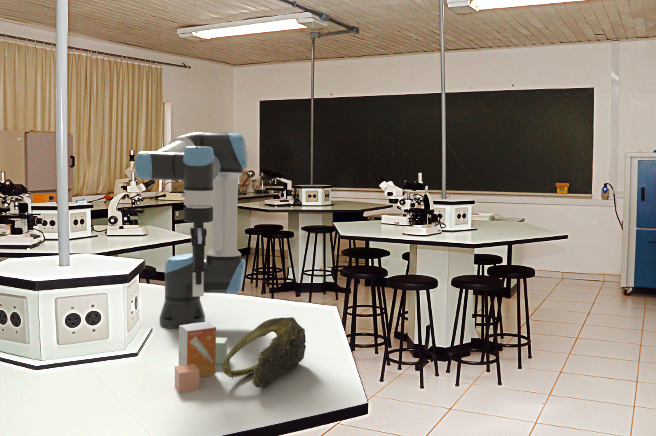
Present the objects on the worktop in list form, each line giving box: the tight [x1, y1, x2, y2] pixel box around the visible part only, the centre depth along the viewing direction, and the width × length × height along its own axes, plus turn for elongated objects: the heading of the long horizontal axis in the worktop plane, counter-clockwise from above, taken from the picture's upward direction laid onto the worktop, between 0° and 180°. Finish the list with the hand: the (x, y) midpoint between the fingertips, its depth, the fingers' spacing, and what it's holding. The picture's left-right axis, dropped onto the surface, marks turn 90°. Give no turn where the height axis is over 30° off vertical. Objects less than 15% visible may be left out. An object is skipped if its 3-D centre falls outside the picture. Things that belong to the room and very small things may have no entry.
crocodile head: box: [221, 316, 307, 389], centre depth 160 cm, size 27×17×15 cm
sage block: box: [215, 336, 228, 365], centre depth 170 cm, size 5×5×6 cm
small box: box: [178, 321, 217, 378], centre depth 160 cm, size 8×6×13 cm
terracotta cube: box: [174, 364, 200, 393], centre depth 151 cm, size 5×5×5 cm
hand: (198, 295), depth 159 cm, fingers closed
